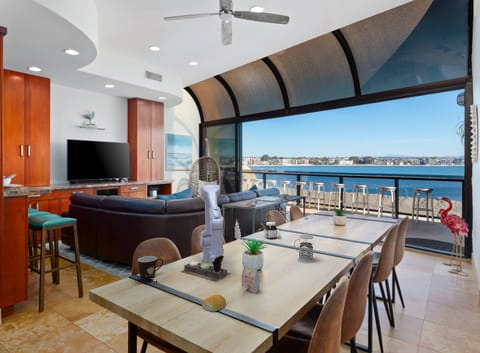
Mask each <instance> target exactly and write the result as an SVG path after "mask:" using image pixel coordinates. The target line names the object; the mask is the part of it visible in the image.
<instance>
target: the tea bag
mask: <svg viewBox="0 0 480 353" xmlns="http://www.w3.org/2000/svg"><path fill="white" fill-rule="evenodd" d="M241 286H242V287H243V288H246V289H245V290H244V291H246V292H248V293H251V294H257V293H258V292H260V275H259V271H258V268H255V267H252V266H251V267H250V266H248V265H243V271H242V275H241Z"/></svg>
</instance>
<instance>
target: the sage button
mask: <svg viewBox="0 0 480 353" xmlns="http://www.w3.org/2000/svg"><path fill="white" fill-rule="evenodd" d="M210 266H211V264H209V263H201V269H203V270H207V269H209V268H210Z"/></svg>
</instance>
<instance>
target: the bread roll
mask: <svg viewBox="0 0 480 353" xmlns="http://www.w3.org/2000/svg"><path fill="white" fill-rule="evenodd" d="M201 304H202V305H201V306H202V308H203V309H204V310H205V311H207V312H216V311H217V310H218V311H220V310H221V309H223V308H225V307H227V306H226V305H227V300H226V298H225V297H224V296H223V295H222V294H213V295H211V296H209V297H206V298H205V299H204V300H203V301H202V303H201Z"/></svg>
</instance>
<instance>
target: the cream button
mask: <svg viewBox="0 0 480 353" xmlns="http://www.w3.org/2000/svg"><path fill="white" fill-rule="evenodd" d="M198 263H199V261H197V260H191V261H190V262H189V263H188V264H189V266H191V267H196V266H198Z"/></svg>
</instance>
